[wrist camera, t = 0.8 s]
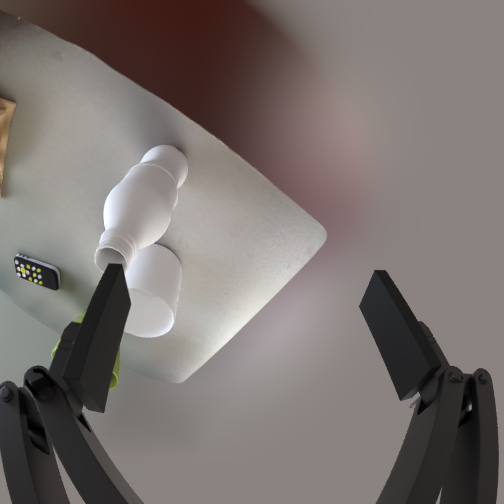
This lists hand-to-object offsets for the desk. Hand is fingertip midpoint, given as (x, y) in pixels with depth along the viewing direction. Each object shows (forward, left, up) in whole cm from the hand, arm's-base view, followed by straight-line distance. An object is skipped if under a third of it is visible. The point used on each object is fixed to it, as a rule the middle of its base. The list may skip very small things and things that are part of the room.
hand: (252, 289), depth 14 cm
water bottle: (+7, -8, -31) cm, 33 cm away
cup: (+27, -3, -31) cm, 42 cm away
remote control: (+41, -28, -31) cm, 59 cm away
